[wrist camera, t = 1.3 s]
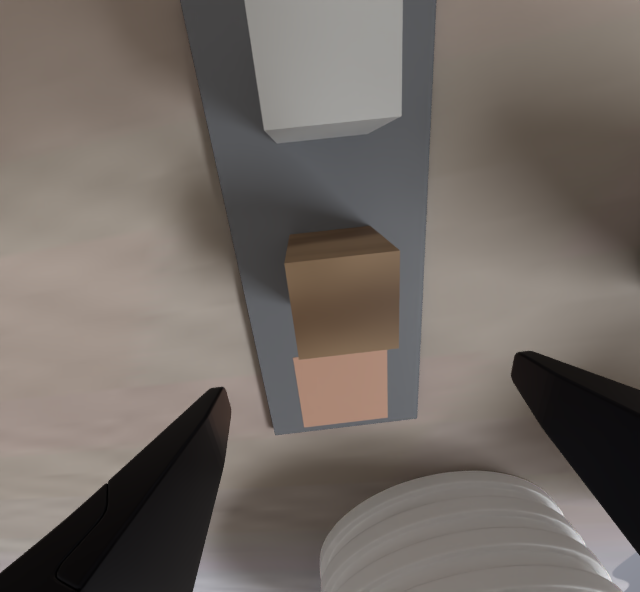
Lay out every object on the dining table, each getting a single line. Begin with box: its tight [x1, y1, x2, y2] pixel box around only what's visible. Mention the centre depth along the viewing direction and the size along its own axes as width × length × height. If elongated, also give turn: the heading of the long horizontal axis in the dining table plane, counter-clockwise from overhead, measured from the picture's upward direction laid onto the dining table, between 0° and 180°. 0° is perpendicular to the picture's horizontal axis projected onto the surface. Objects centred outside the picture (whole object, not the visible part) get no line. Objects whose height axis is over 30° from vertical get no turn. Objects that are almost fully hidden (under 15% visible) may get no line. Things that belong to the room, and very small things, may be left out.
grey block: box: [244, 0, 403, 144], centre depth 12 cm, size 5×5×6 cm
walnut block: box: [284, 226, 400, 360], centre depth 16 cm, size 5×5×6 cm
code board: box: [180, 0, 436, 435], centre depth 19 cm, size 28×12×1 cm, turn 6°
